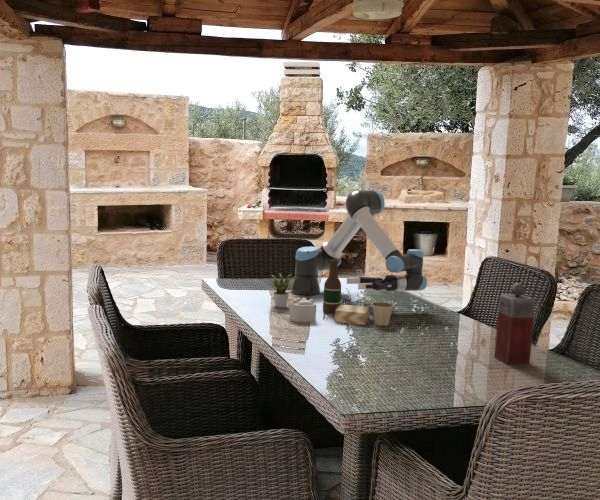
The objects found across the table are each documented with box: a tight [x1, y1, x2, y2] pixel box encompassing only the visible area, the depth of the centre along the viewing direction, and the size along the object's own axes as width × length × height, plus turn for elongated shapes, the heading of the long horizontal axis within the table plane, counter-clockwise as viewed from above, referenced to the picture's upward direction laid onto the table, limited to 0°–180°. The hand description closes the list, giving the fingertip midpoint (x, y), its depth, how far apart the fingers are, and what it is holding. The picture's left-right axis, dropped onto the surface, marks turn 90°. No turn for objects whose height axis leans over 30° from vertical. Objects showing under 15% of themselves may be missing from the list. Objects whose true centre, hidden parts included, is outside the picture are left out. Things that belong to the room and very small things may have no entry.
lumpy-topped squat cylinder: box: [289, 297, 317, 323], centre depth 286 cm, size 10×13×9 cm
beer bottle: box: [322, 259, 342, 315], centre depth 301 cm, size 8×8×24 cm
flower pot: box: [371, 301, 395, 327], centre depth 282 cm, size 9×9×9 cm
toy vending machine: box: [493, 282, 536, 366], centre depth 236 cm, size 9×11×28 cm
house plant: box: [269, 272, 298, 308], centre depth 309 cm, size 14×14×16 cm
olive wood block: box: [334, 303, 370, 326], centre depth 288 cm, size 13×13×5 cm
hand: (352, 283), depth 303 cm, fingers open, 13 cm apart
